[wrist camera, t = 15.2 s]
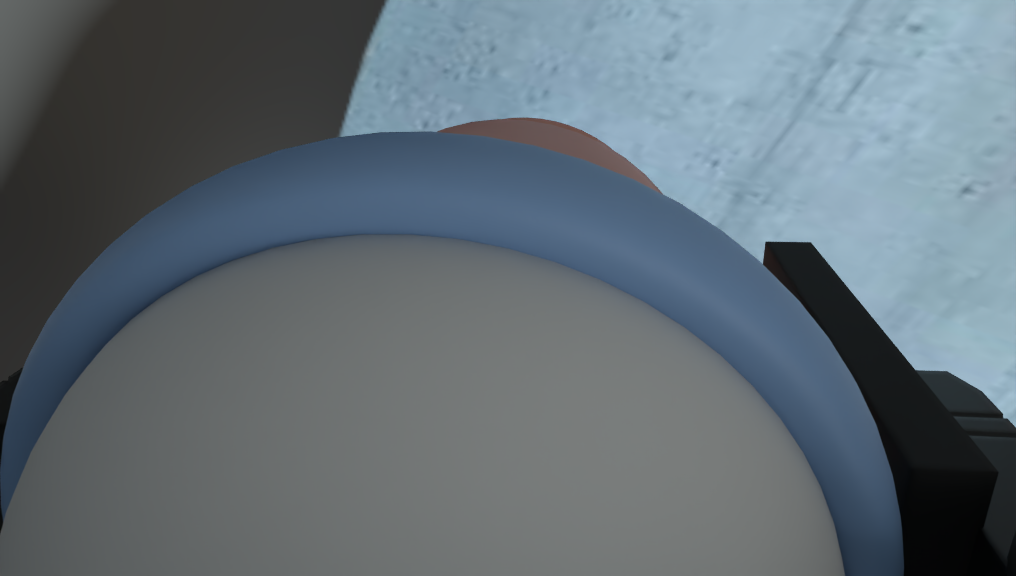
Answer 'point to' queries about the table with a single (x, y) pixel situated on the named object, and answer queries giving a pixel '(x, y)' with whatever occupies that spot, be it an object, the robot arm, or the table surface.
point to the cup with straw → (439, 382)
